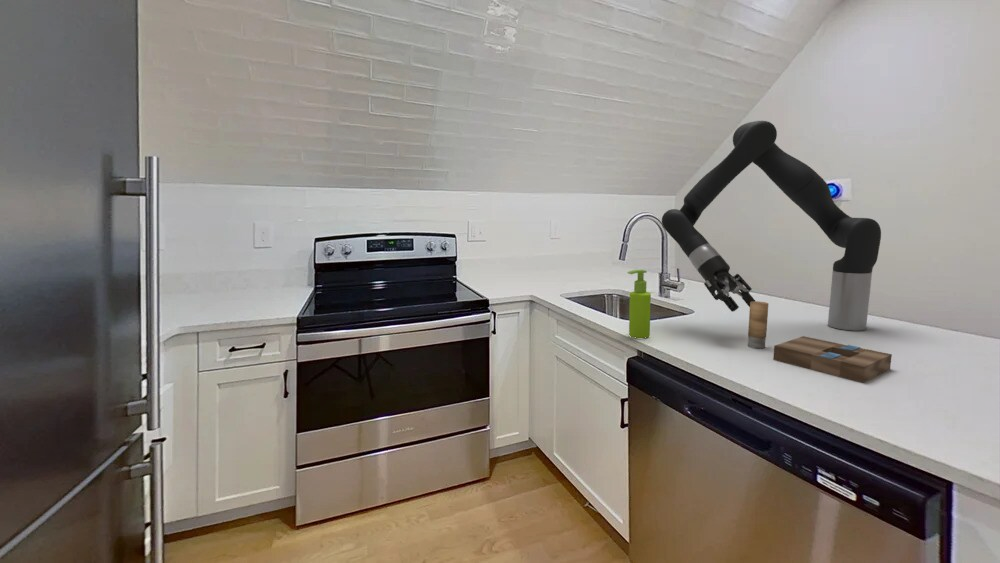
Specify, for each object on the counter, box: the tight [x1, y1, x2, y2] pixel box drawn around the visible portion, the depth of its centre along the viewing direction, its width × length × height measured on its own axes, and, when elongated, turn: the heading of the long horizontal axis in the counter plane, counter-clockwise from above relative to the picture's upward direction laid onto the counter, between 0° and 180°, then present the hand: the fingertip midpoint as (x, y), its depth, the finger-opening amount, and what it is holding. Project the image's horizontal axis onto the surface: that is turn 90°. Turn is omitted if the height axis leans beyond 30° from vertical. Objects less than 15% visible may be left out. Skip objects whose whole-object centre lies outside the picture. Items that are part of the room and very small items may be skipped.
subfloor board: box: [772, 335, 892, 384], centre depth 101 cm, size 14×18×4 cm
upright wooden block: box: [747, 300, 769, 349], centre depth 115 cm, size 4×4×12 cm
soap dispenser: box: [627, 269, 652, 339], centre depth 127 cm, size 6×7×20 cm
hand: (745, 307), depth 118 cm, fingers open, 8 cm apart
